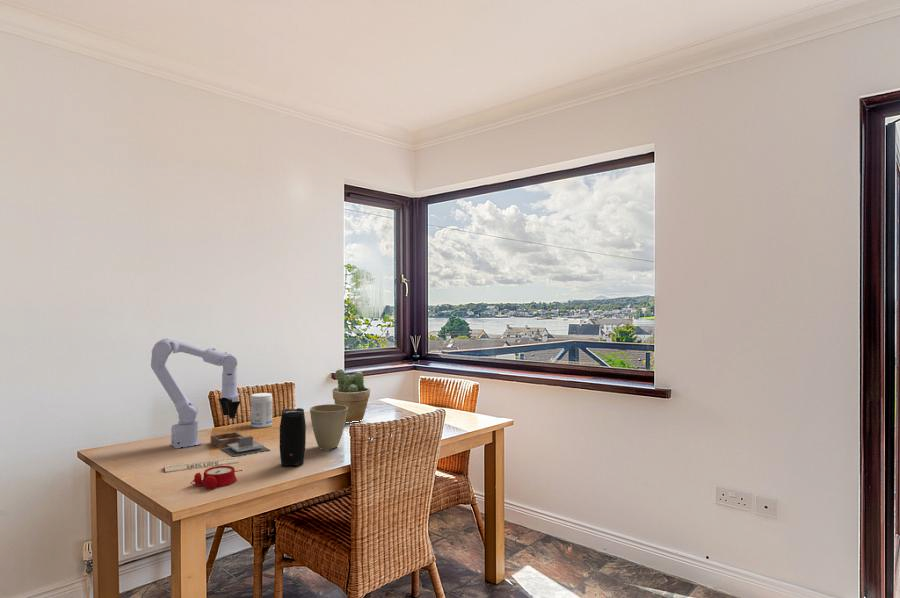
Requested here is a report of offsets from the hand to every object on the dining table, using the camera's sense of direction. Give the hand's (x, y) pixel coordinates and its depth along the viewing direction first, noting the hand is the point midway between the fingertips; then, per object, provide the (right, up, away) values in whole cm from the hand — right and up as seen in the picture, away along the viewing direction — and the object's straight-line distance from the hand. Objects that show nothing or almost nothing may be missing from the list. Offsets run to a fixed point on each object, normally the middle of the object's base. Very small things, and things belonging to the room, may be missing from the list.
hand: (229, 416), depth 225 cm
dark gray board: (+11, -10, -12) cm, 20 cm away
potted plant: (+43, -11, +41) cm, 61 cm away
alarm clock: (+16, -11, -51) cm, 55 cm away
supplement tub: (+3, -11, +29) cm, 31 cm away
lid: (+11, -10, -12) cm, 20 cm away
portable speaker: (+35, -11, -30) cm, 47 cm away
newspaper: (+4, -11, -33) cm, 35 cm away
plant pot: (+43, -11, -7) cm, 45 cm away
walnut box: (+1, -10, -3) cm, 11 cm away
